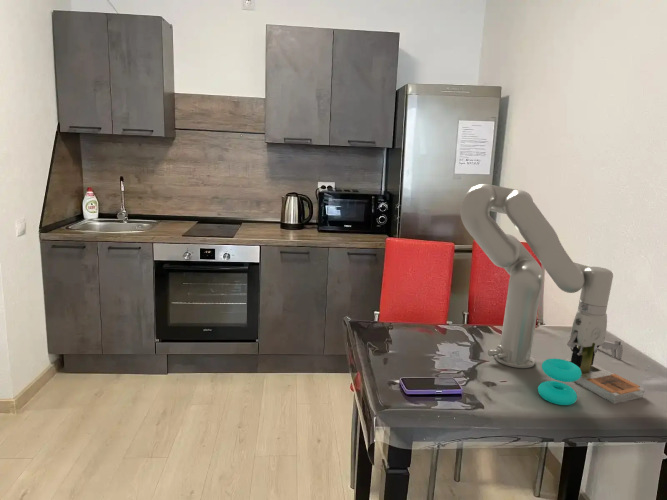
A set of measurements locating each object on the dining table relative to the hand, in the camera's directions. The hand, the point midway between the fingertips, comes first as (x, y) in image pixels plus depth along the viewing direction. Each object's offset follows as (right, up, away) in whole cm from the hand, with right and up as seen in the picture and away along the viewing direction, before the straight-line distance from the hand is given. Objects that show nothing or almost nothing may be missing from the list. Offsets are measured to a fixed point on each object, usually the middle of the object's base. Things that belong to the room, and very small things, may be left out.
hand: (581, 363), depth 155 cm
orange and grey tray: (+2, -5, -4) cm, 6 cm away
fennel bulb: (0, -4, +1) cm, 4 cm away
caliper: (+16, 0, +23) cm, 28 cm away
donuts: (-15, -6, -15) cm, 22 cm away
